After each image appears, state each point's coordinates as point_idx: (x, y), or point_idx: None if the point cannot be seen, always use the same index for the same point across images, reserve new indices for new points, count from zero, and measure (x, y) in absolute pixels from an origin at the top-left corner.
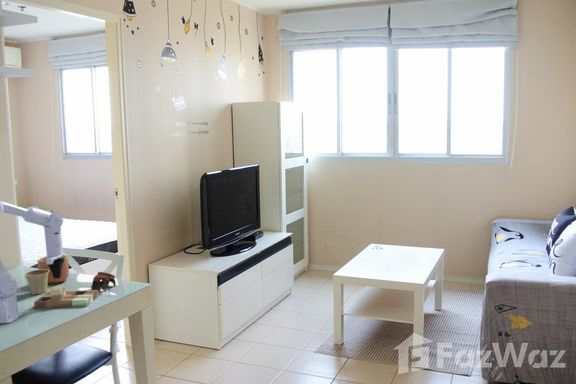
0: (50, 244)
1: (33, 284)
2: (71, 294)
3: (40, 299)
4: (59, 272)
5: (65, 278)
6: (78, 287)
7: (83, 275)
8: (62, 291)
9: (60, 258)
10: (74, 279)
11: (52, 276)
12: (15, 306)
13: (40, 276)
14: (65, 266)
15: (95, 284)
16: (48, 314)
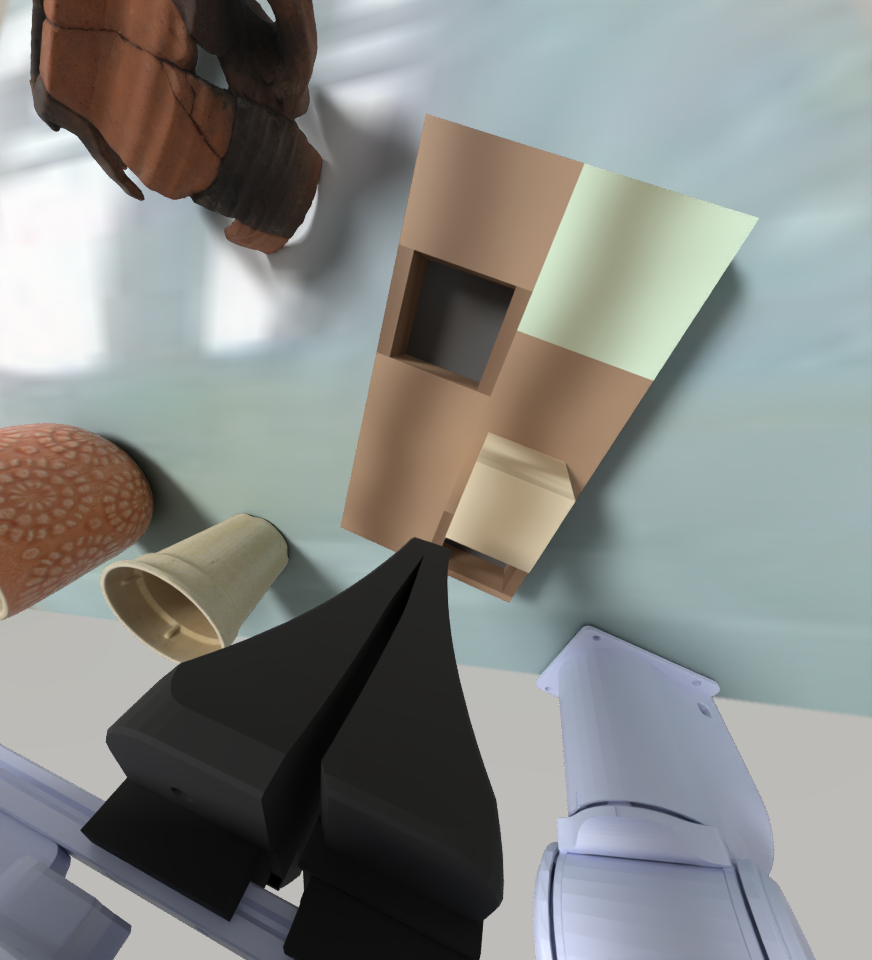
0: None
1: (257, 599)
2: (461, 392)
3: (454, 566)
4: (446, 599)
5: (94, 436)
6: (202, 356)
7: (6, 341)
8: (538, 473)
9: (143, 782)
10: (74, 388)
11: (116, 508)
12: (664, 718)
13: (214, 603)
14: None
15: (255, 179)
16: (705, 524)
